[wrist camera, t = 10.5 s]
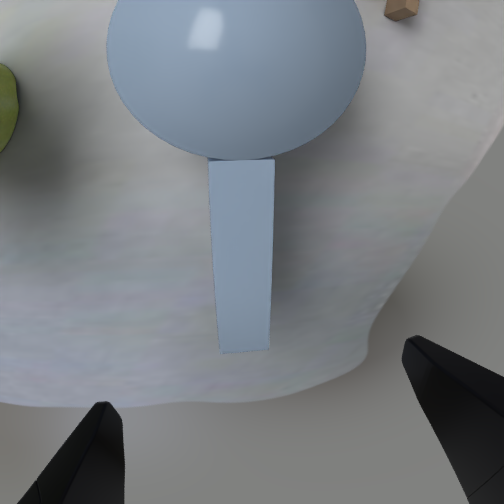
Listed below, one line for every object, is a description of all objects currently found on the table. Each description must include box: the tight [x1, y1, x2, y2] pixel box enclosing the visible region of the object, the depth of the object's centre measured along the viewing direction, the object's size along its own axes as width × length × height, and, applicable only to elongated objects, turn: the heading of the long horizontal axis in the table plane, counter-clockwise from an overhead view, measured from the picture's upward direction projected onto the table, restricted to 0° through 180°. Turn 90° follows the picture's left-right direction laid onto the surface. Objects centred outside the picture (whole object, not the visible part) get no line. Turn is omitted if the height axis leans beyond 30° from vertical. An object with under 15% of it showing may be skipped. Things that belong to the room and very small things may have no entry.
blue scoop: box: [107, 0, 366, 354], centre depth 12 cm, size 16×8×6 cm, turn 0°
